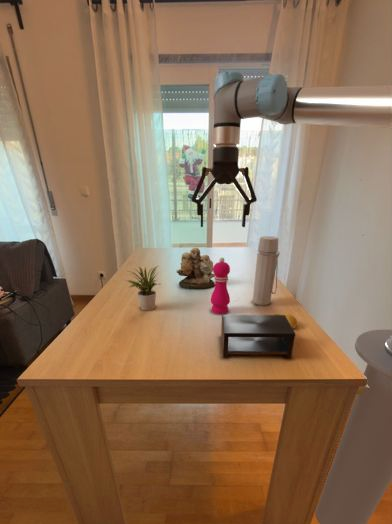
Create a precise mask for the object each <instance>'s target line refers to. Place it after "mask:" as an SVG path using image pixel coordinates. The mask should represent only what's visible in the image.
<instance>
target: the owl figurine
mask: <svg viewBox="0 0 392 524" xmlns="http://www.w3.org/2000/svg"><path fill="white" fill-rule="evenodd" d="M213 267H214V262H213V260H212V259H210V256H209V255H208V254H204V255H201V249H200V248H198V247H192V248H191V249H190V250H189V252H184V253H181V261H180V268H179V269H176V274H178V276H180V277H184V278H182V279H181V280H180V281H178V286H179V287H180V288H182V289H188V290H189V289H191V290H206V289H211V288H212V287H215V281H214V276H215V274H214V273H213ZM212 278H213V279H212Z"/></svg>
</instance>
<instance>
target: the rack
mask: <svg viewBox="0 0 392 524" xmlns="http://www.w3.org/2000/svg"><path fill="white" fill-rule="evenodd" d="M220 329H221V330H220V331H221V333H220V339H221V349H222V358H223V359H227V358H228V355H270V356H271V355H277V356H279V355H281V356H282V355H283V356H285V359H286V360H288V359H289V360H290V359H291V358H292V355H293V349H294V343H295V338H296V332H295V330H294V328H292V327H291V325H290V323H289V322H288V320H287V318H286V316H285V315H281V314H279V315H275V314H221V328H220Z"/></svg>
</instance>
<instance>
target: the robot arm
mask: <svg viewBox="0 0 392 524" xmlns="http://www.w3.org/2000/svg"><path fill="white" fill-rule="evenodd" d="M213 91H214V93H213V130H212V131H213V135H212V145H213V146H214V148H213V149H212V165H211V168H210V167H206V166H202V168H201V175H200V178H199V180H198V182H197V185H196V188H195V190H194V192H193V194H192V197H191V200H190V201H191V202H192V203H195V204H196V215H197V216H200V228H203V227H204V203H202V202H203V201H204V200H205V198H206V197H207V196H208V195H209V194H210V192H211V190H212V189H213V188H214V186H215V185H216V184H217V185H231V184H233V186H234V187H235V189H236V191H238V193H239V194H240V196H241V198H242V199H243V200H244V202H245V203H243V207H242V218H241V227H242V228H246V220H247V216H250V213H251V205H252V204H253V203H256V202H257V201H258V200H257V196H256V192H255V190H254V186H253V184H252V181H251V179H250V175H249V174H250V173H249V172H250V171H249V167H248V166H244V167H239V156H240V155H239V153H240V149H239V147H238V146H239V145H240V141H241V140H240V139H241V125H242V123H241V122H242V120H245V119H254V118H260V119H263V120H268V121H270V122H271V121H272V122H275V123H277V124H280V125H291V124H298V125H299V124H301V125H303V124H304V125H321V126H340V127H355V128H356V127H359V128H375V129H376V128H377V129H392V85H353V86H352V85H351V86H346V85H345V86H343V85H342V86H303V87H301V86H298V87H297V86H293V87H291V86H288V84H287V81H286V78H285V76H284V75H283V74H282V73H275V74H272V73H268V74H266V75H264V76H260V77H259V76H258V77H254V78H250V79H246V80H244V75H243V74H242V72H241V71H235V70H231V71H223V72H220V73H218V74H217V76H216V77H215V81H214V89H213ZM210 173H211V175H212V177H213V179H212V180H211V182H210V183H209V185H208V186H207V187H206V188H205V190H204V191H203V192H202V194H201V195H200V197H198V195H199V193H200V191H201V188H202V186H203V184H204V182H205V179H206V177H208V176H209V174H210ZM239 173H240V175H241V176H242V177H243V179H244V183H245V185H246V187H247V191H248V193H249V196H250V197H249V196H248V194H246V192H245V190H244V188H243V187H242V186H241V184H240V183H239V181H238V180H237V177H238V175H239ZM197 197H198V198H197ZM384 348H385V350H386V352H387V353H388V354H389V355H391V356H392V335H391V336H390V337H389V338H388V339H387V340H386V343H385V345H384Z"/></svg>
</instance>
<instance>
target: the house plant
mask: <svg viewBox="0 0 392 524" xmlns="http://www.w3.org/2000/svg"><path fill="white" fill-rule="evenodd" d="M158 267H159V265H157V266H154V267H151V268H150V269H149V271H148V273H147V268H146V267H144V269H142V267H141V266H140V265H138V269H139V270H138V269H135V271H136V272H137V273H138V274H139V275H138V274H137V273H135V272H133V271H130V270H127V272H128V273H129V275H132V276H134V278H135V279H136V280H137V281H135V280H132V279H124V281H125V282H127V283H129V284H131V285H129V286H128V290H129V289H131V288H134V287H136V289H138V290H139V291H137V293H136V294H137V297H138V301H139V305H140V308H141V310H142V311H152V310H154V309H155V307H156V297H157V292H156V290H154V289H153V288H154V286H156V285H158V283H157V280H156V279H155V278H156V277H157V276H158V273H159V271H157V270H158V269H157V268H158ZM159 285H161V286H162V284H161V283H159Z"/></svg>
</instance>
